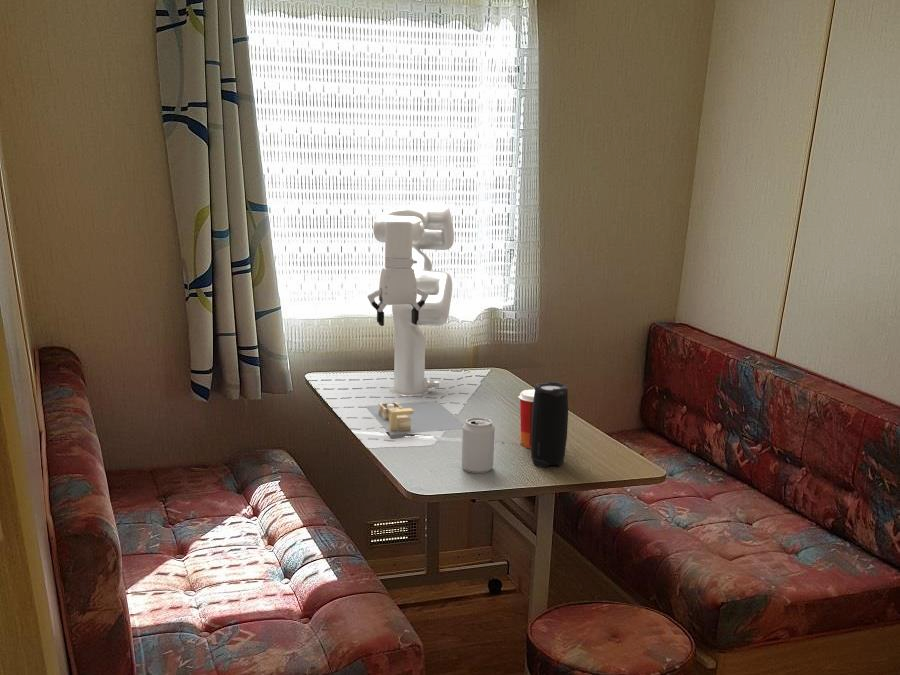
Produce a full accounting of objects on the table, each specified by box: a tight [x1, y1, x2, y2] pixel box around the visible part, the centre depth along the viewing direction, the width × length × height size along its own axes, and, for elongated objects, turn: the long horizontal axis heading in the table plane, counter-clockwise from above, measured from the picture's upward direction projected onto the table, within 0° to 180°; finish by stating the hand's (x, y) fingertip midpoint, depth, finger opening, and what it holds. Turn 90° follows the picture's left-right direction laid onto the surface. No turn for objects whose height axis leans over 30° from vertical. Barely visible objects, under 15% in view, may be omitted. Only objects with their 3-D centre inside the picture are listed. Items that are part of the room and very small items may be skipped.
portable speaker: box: [530, 381, 569, 469], centre depth 196 cm, size 9×9×20 cm
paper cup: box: [518, 389, 535, 449], centre depth 209 cm, size 8×8×14 cm
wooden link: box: [378, 401, 411, 431], centre depth 223 cm, size 17×5×3 cm, turn 20°
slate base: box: [365, 400, 466, 439], centre depth 228 cm, size 22×27×6 cm
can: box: [461, 417, 496, 474], centre depth 191 cm, size 8×8×12 cm
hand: (397, 324), depth 228 cm, fingers open, 9 cm apart
